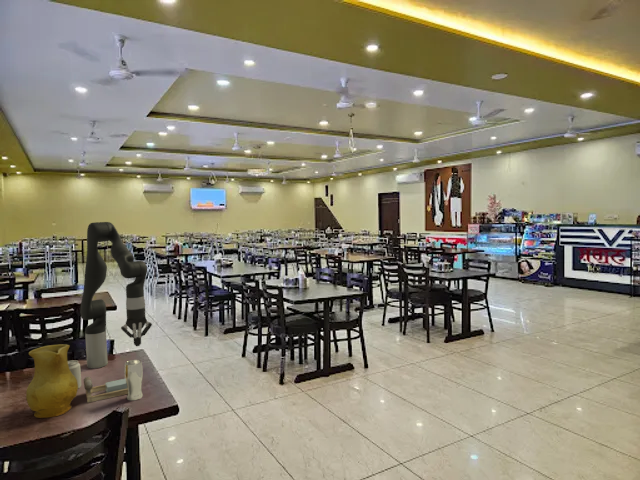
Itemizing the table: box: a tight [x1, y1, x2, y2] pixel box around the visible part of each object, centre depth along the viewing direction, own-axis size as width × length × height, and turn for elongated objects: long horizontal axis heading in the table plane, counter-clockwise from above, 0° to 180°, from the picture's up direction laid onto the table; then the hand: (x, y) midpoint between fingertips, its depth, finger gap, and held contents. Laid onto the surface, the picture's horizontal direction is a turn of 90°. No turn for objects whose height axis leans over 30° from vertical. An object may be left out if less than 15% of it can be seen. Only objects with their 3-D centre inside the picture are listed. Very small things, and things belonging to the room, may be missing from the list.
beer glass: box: [123, 359, 144, 402], centre depth 176 cm, size 7×7×15 cm
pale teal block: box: [104, 378, 127, 393], centre depth 183 cm, size 6×8×4 cm
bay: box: [83, 376, 128, 404], centre depth 180 cm, size 11×17×7 cm, turn 122°
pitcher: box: [25, 343, 79, 419], centre depth 166 cm, size 17×19×25 cm
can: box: [67, 359, 82, 390], centre depth 185 cm, size 8×8×12 cm
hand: (137, 345), depth 186 cm, fingers closed
